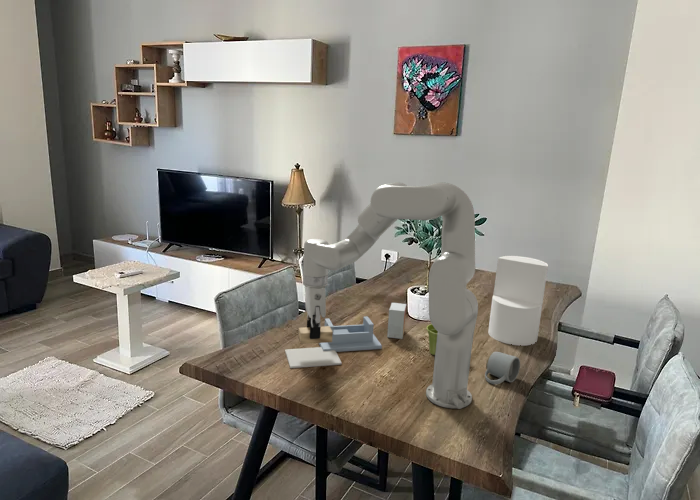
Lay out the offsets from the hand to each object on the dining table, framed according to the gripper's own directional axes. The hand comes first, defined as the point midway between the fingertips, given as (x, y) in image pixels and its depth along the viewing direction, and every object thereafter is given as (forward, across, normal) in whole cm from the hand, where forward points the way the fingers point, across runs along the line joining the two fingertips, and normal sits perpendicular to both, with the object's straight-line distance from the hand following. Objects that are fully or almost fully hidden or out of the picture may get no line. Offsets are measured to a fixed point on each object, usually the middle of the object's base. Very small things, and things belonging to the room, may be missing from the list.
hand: (313, 334), depth 161 cm
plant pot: (+8, -3, -42) cm, 43 cm away
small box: (+8, +14, -33) cm, 37 cm away
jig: (+8, +10, -14) cm, 19 cm away
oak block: (+2, 0, -1) cm, 2 cm away
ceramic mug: (+8, -23, -54) cm, 59 cm away
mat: (+8, 0, 0) cm, 8 cm away
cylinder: (+8, +6, -76) cm, 76 cm away
